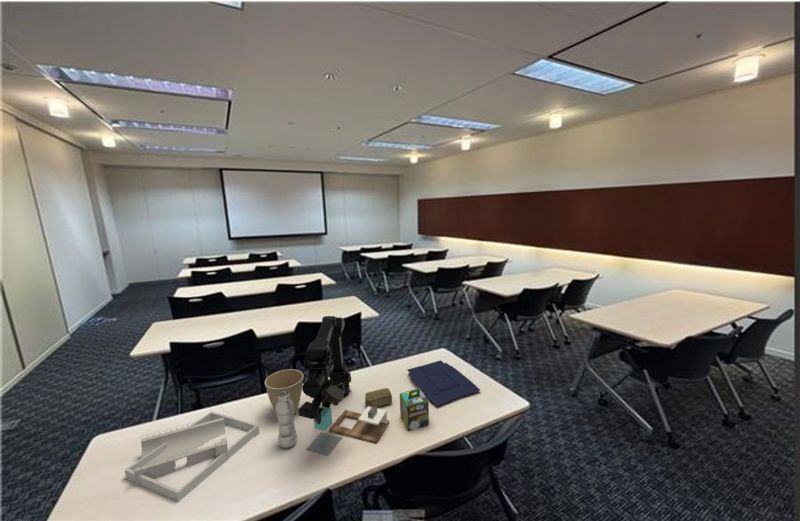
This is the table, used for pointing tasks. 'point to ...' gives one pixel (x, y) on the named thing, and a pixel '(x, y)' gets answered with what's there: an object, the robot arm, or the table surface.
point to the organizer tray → (206, 471)
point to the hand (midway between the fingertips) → (322, 419)
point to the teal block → (324, 419)
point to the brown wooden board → (359, 428)
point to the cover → (373, 416)
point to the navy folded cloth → (441, 382)
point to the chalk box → (414, 409)
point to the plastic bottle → (286, 420)
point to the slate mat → (324, 444)
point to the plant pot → (285, 386)
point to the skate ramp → (182, 447)
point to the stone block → (378, 398)
